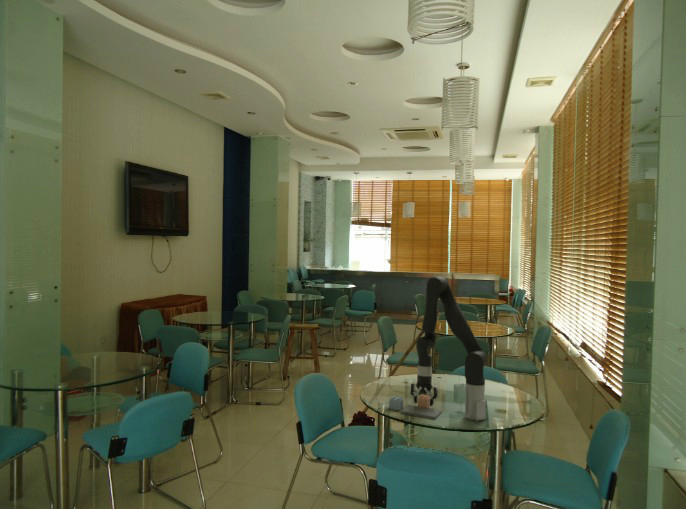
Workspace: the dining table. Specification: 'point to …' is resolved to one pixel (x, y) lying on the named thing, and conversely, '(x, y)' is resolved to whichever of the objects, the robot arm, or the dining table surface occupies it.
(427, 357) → the robot arm
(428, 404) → the brick terracotta
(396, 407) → the brick slate
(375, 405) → the dining table surface
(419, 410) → the baseplate
